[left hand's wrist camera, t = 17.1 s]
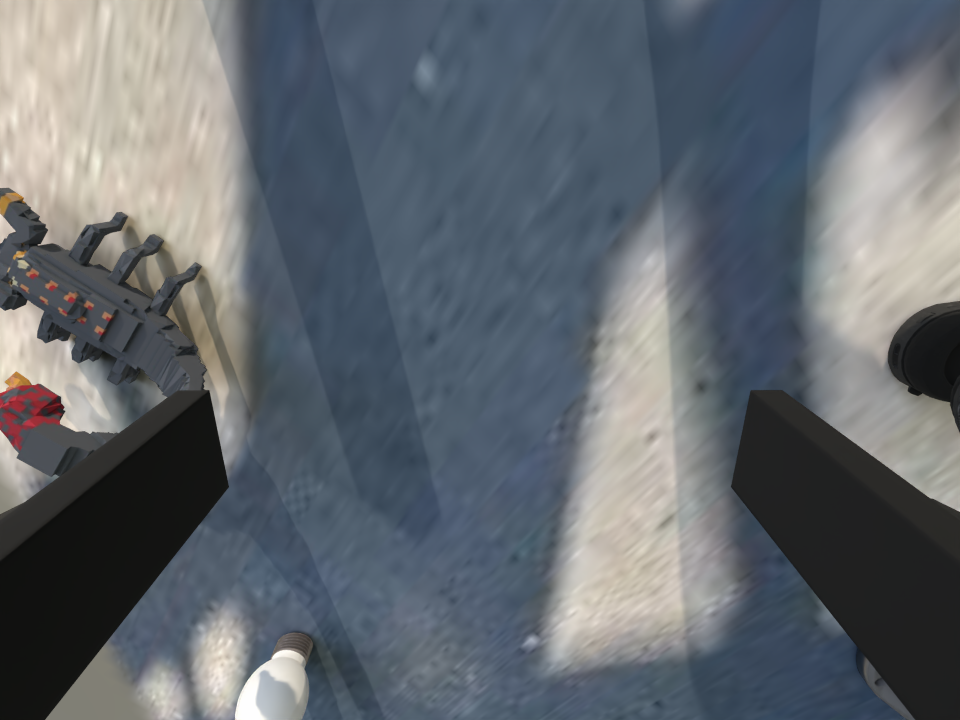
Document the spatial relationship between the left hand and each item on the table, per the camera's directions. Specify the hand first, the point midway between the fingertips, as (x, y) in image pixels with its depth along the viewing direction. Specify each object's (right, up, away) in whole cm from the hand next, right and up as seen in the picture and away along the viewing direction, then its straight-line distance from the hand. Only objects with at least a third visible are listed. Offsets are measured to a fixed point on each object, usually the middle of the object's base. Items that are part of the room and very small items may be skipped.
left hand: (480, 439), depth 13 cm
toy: (-31, +8, +32) cm, 45 cm away
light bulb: (-21, -31, +46) cm, 59 cm away
